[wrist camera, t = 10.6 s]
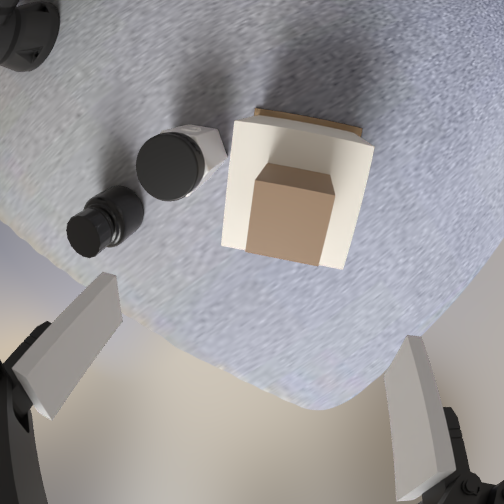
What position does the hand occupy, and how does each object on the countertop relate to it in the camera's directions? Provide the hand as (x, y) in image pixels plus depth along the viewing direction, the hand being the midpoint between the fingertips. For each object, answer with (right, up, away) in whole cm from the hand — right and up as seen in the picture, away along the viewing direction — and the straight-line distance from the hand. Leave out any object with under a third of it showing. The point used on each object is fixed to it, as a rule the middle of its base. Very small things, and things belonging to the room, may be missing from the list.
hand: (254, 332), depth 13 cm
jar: (-8, +18, +32) cm, 38 cm away
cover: (+7, +15, +30) cm, 34 cm away
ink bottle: (-23, +11, +39) cm, 46 cm away
